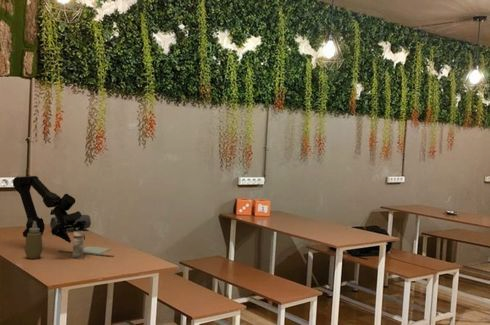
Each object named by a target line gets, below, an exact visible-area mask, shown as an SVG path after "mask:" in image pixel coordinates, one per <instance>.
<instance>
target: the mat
mask: <svg viewBox="0 0 490 325" xmlns="http://www.w3.org/2000/svg"><path fill="white" fill-rule="evenodd" d="M109 250H111V248H109V247H100V246H91V245H90V246H86V247H85V246H84V251H83V253H93V254H103V253H106V252H107V251H109Z"/></svg>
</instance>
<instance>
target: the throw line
mask: <svg viewBox="0 0 490 325" xmlns="http://www.w3.org/2000/svg"><path fill="white" fill-rule="evenodd" d="M58 253H68V254H73V250H72V251H71V250H58ZM83 255H86V256H87V255H89V256H96V257H98V256H100V257H109V258H113V257H115V255H113V254H111V255H109V254H103V253H101V254H93V253H83Z"/></svg>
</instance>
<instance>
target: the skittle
mask: <svg viewBox="0 0 490 325" xmlns="http://www.w3.org/2000/svg"><path fill="white" fill-rule="evenodd" d="M84 235H85V230H84V231H73V235H72V236H73V237H72V238H73V242H72V252H73V253H72V259H75V260H77V259H78V260H80V259H83V258H84V254H83V251H84V248H85V240H84Z"/></svg>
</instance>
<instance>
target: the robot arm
mask: <svg viewBox="0 0 490 325" xmlns="http://www.w3.org/2000/svg"><path fill="white" fill-rule="evenodd" d="M12 186H13V188H14V190H15V191H17V193H18V194H19V195H20V198H21V201H22V205H23V208H24V211H25V212H24V213H25V215H26V218H27V220H26V224H25V227H26V228H25V230H24V231H23V232H22V237H23V238H25V240H26V239H27V234H28V233H30V232H29V229H30V228H32V225H33V221H36V223H37V228H39V229H40V233H41V234H42V236H43V235H44V232H45V229H46V227H45V225H46V224H45V222H44V219H43V217H41V218H40V217H39V216H38V214H37V210H36V207H35V204H34V201H33V198H32V194H31V187H32V189H34V190H35V192H36V193H38V195H40V197H41V198H42V202H43V204H44V206H45V207H46V208H48V209H49V208H53V209H50V213H49V215H50V216H53V215H54V217H56V218H57V220H58V221H57V223H60V224H56V225H55V226H54V228H53V229H52V230H51V235H52V236H55V237H58V238H59V239H62V240H64V241H65V242H67V243H70V244H71V242H72V240H71V238H70V236H69V234H68V232H66V230H68V229H74V230H75V231H84V232H85V230H84V227H85V225H86V224H87V223H86V222H85V220H81V221H78V222H77V223H76V224H74V223H75V222H76V221H75V220H77V219H80V217H81V216H82V215H83V214H82V213H81V211H80V210H78V211H76V212H73V213H72V212H71V213H68V212H67V211H70V210H71V208H73V206H74V205H75V204H76V198H75V197H73V196H72V195H69V193H64V194H63V195H62V197H61V196H59V195H58V194H56V193H55V192H52V191H51V190H50V189H48V187H47V186H46V185H45V184H44V183H43V182H42V181H41V180H40V179H39V177H38V176H36V175H29V176H15V177H14V178H13V180H12ZM85 240H86V237H85V234H84V241H85Z"/></svg>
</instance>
